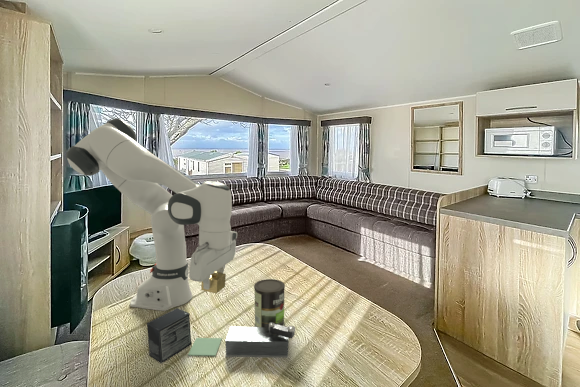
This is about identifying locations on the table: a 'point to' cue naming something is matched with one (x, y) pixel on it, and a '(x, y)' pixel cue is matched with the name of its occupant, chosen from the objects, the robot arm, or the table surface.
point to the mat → (205, 347)
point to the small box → (169, 335)
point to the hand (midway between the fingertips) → (213, 283)
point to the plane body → (255, 343)
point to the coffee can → (269, 302)
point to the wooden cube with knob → (216, 282)
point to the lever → (281, 330)
